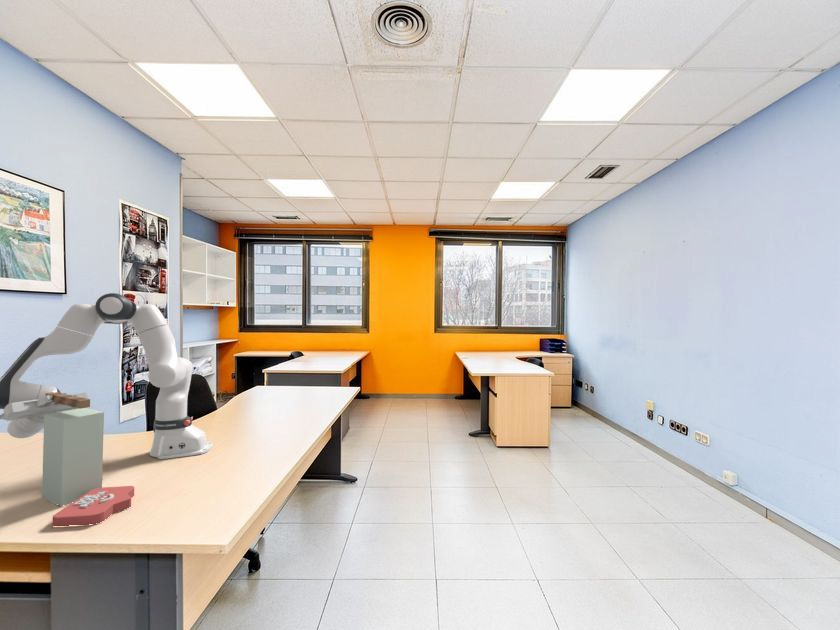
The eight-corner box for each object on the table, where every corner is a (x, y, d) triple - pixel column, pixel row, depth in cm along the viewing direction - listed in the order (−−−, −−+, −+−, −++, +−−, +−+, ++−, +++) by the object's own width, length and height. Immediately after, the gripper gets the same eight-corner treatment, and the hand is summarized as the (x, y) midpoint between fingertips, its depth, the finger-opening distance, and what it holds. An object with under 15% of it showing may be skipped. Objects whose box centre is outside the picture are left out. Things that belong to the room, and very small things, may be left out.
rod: (45, 400, 122) (45, 393, 122) (55, 399, 124) (55, 391, 124) (80, 408, 113) (80, 400, 113) (89, 407, 115) (90, 399, 115)
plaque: (111, 511, 101) (48, 516, 98) (111, 525, 101) (48, 530, 98) (147, 482, 119) (94, 485, 116) (146, 494, 119) (93, 498, 116)
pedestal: (41, 498, 114) (44, 414, 114) (82, 485, 123) (84, 407, 123) (61, 507, 109) (63, 419, 109) (101, 492, 118) (103, 412, 118)
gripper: (-7, 410, 117) (11, 393, 112) (75, 398, 135) (93, 382, 130) (-3, 429, 115) (15, 412, 111) (79, 414, 134) (97, 399, 129)
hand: (58, 396), depth 121 cm, fingers closed on rod, 2 cm apart
